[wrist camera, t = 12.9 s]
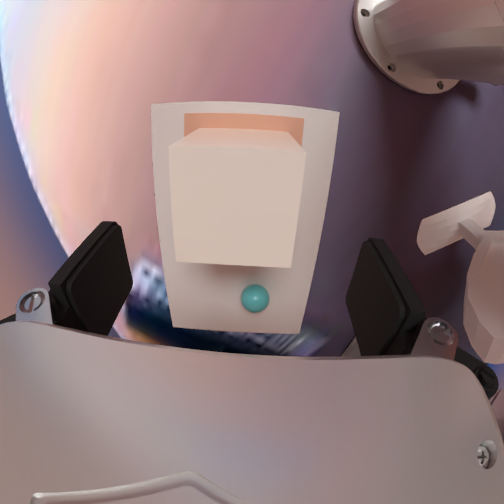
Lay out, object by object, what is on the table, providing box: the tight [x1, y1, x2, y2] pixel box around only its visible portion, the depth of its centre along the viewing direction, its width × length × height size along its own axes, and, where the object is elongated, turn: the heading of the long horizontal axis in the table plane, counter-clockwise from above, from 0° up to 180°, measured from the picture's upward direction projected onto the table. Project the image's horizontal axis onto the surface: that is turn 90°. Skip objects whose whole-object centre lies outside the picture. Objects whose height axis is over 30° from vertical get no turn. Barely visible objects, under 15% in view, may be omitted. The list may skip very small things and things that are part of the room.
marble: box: [241, 284, 270, 313], centre depth 29 cm, size 3×3×3 cm
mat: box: [151, 101, 340, 334], centre depth 28 cm, size 16×26×1 cm, turn 177°
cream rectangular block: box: [169, 128, 306, 268], centre depth 20 cm, size 7×7×9 cm
